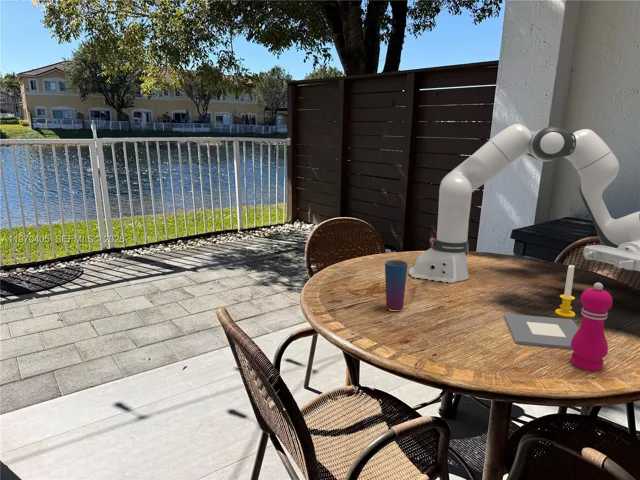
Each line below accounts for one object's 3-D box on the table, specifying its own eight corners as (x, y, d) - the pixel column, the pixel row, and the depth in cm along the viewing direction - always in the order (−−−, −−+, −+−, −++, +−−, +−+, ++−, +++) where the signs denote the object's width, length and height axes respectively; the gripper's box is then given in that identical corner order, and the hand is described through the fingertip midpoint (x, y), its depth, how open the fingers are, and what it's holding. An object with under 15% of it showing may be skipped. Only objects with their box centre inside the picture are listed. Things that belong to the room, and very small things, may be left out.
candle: (567, 318, 123) (575, 267, 120) (551, 312, 128) (557, 263, 124) (578, 315, 125) (586, 265, 122) (562, 309, 130) (568, 260, 126)
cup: (405, 314, 127) (407, 266, 124) (382, 312, 128) (384, 265, 125) (405, 305, 134) (407, 260, 130) (384, 304, 135) (385, 259, 131)
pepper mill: (561, 357, 101) (572, 278, 97) (590, 355, 102) (602, 277, 97) (582, 373, 94) (595, 288, 90) (612, 371, 95) (627, 287, 90)
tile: (515, 343, 108) (516, 340, 108) (503, 316, 125) (504, 313, 125) (594, 351, 104) (595, 348, 104) (571, 321, 121) (571, 318, 121)
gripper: (602, 239, 141) (571, 243, 136) (670, 253, 122) (638, 258, 117) (599, 257, 142) (569, 262, 137) (666, 274, 123) (634, 280, 119)
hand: (601, 260), depth 127 cm, fingers open, 8 cm apart
